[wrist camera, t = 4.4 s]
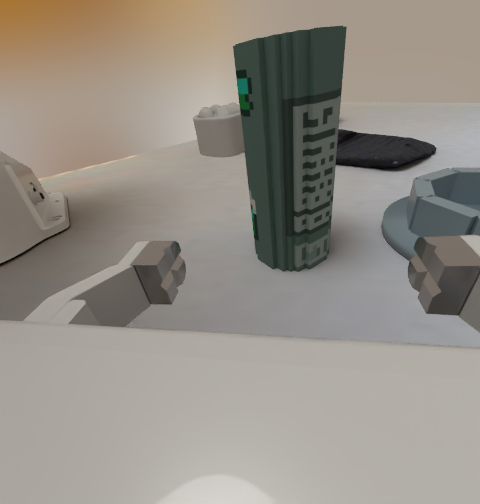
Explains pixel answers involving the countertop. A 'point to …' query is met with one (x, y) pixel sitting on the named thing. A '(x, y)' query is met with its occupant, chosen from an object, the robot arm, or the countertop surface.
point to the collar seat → (434, 209)
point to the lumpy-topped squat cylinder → (220, 131)
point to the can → (291, 140)
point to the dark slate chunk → (379, 149)
